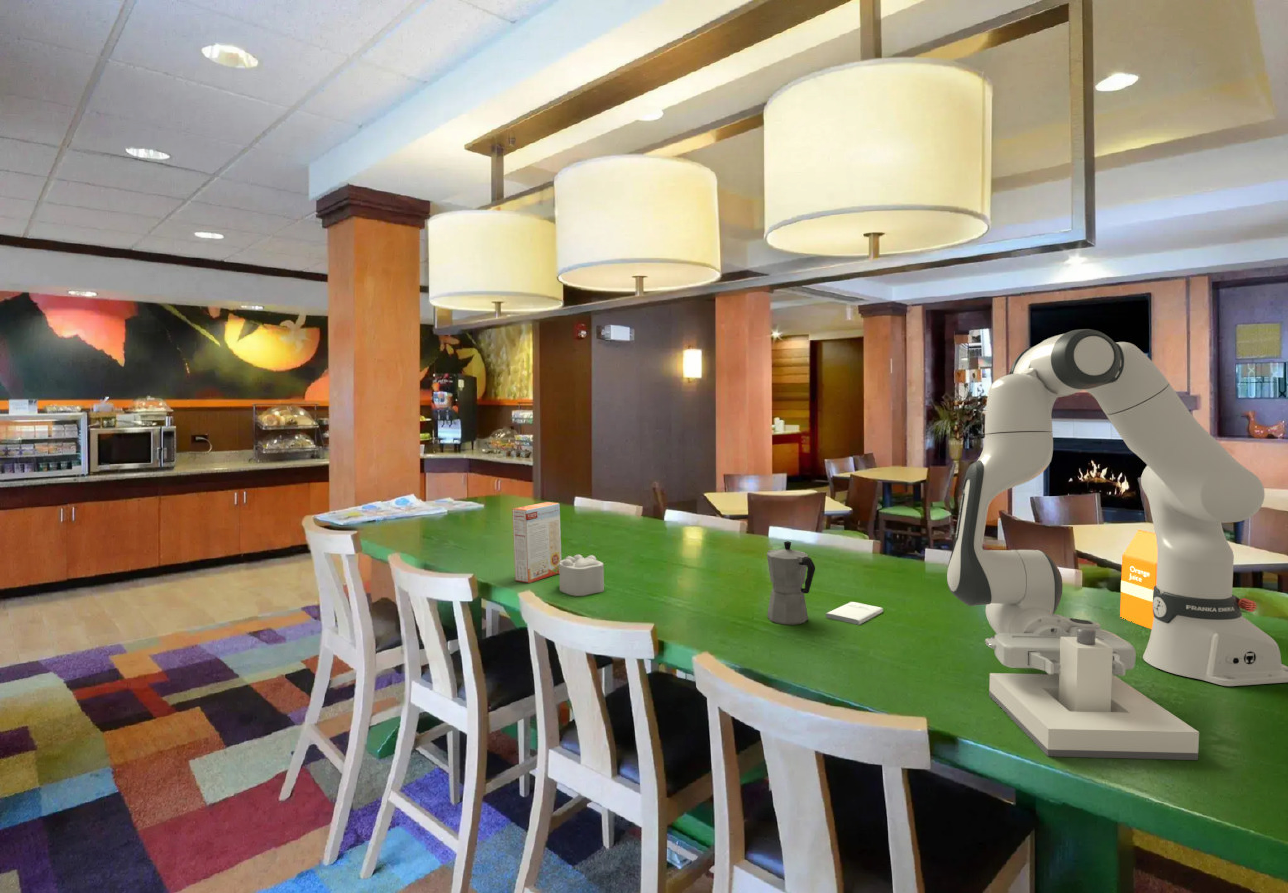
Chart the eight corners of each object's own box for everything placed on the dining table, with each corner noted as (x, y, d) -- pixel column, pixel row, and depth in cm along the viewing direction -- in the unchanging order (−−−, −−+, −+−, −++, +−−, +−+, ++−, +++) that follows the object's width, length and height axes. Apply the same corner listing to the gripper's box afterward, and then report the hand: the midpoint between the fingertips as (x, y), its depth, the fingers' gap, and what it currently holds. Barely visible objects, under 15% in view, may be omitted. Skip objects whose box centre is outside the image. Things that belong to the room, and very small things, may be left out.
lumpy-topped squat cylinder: (575, 597, 182) (574, 564, 181) (550, 587, 192) (550, 555, 191) (609, 590, 188) (608, 558, 187) (583, 580, 198) (582, 550, 198)
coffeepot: (753, 614, 165) (753, 538, 164) (784, 608, 170) (784, 534, 169) (797, 633, 152) (797, 550, 151) (830, 625, 156) (830, 546, 155)
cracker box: (547, 570, 210) (546, 501, 209) (562, 573, 207) (561, 502, 205) (513, 580, 199) (511, 507, 198) (528, 583, 195) (526, 509, 194)
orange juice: (1153, 630, 151) (1156, 537, 149) (1119, 617, 160) (1122, 530, 158) (1184, 627, 152) (1188, 536, 151) (1149, 615, 161) (1152, 528, 159)
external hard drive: (825, 619, 162) (850, 607, 171) (859, 627, 157) (882, 614, 166) (825, 612, 162) (850, 600, 171) (859, 620, 157) (883, 607, 166)
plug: (1091, 711, 110) (1094, 624, 109) (1110, 726, 105) (1113, 635, 104) (1058, 711, 111) (1060, 624, 110) (1075, 726, 106) (1077, 634, 105)
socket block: (1113, 698, 117) (1114, 675, 117) (1197, 760, 98) (1199, 732, 97) (989, 696, 119) (989, 673, 119) (1047, 756, 99) (1048, 728, 99)
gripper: (981, 620, 121) (1017, 649, 107) (1105, 621, 120) (1158, 650, 106) (980, 656, 122) (1016, 689, 108) (1104, 657, 120) (1157, 691, 106)
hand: (1088, 670), depth 107 cm, fingers open, 8 cm apart
